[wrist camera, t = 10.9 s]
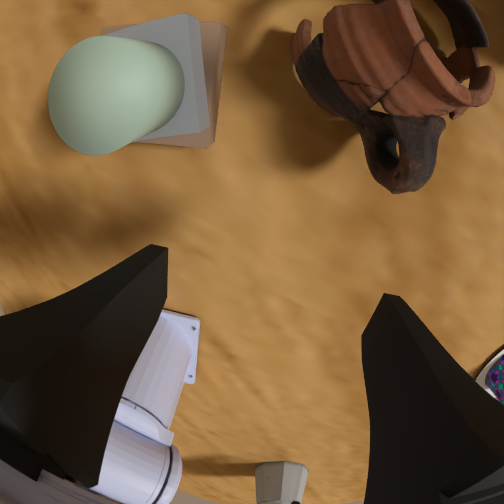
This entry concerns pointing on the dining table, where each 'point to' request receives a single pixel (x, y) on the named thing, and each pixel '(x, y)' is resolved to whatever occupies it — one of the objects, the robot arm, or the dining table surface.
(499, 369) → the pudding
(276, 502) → the coffee maker
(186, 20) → the tower top
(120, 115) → the green cylinder
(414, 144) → the pottery mug
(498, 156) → the dining table surface
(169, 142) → the tower base
